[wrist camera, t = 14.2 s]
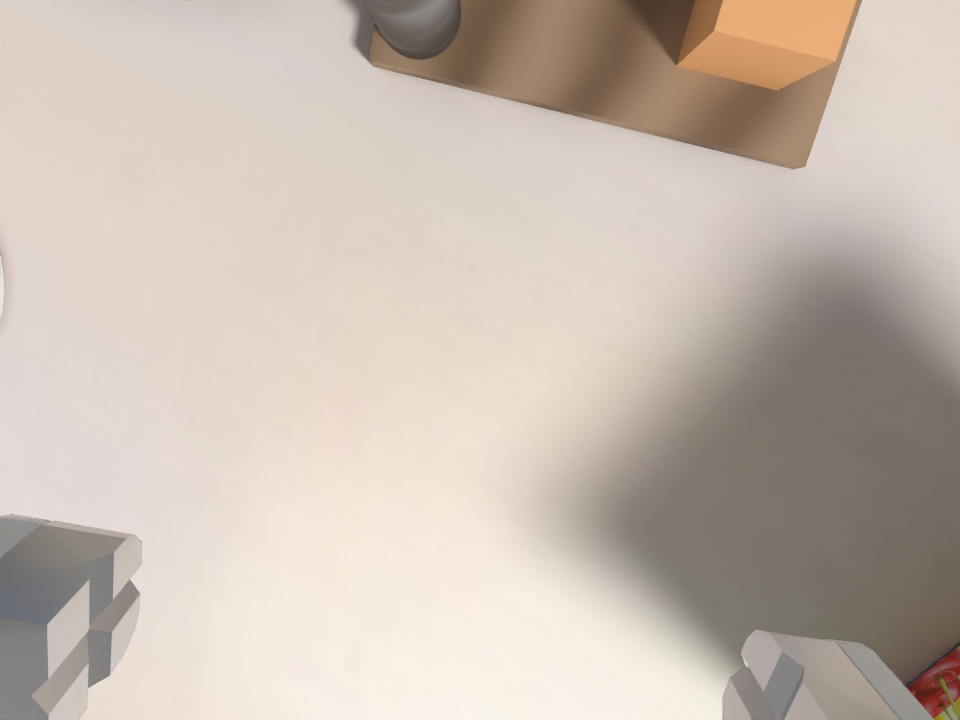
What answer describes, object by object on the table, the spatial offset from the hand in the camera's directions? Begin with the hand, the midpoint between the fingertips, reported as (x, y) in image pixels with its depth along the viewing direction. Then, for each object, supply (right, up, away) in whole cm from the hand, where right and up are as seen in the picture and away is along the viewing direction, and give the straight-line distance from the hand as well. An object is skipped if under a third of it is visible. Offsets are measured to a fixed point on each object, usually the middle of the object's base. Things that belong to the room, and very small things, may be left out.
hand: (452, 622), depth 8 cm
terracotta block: (+13, +19, +20) cm, 30 cm away
